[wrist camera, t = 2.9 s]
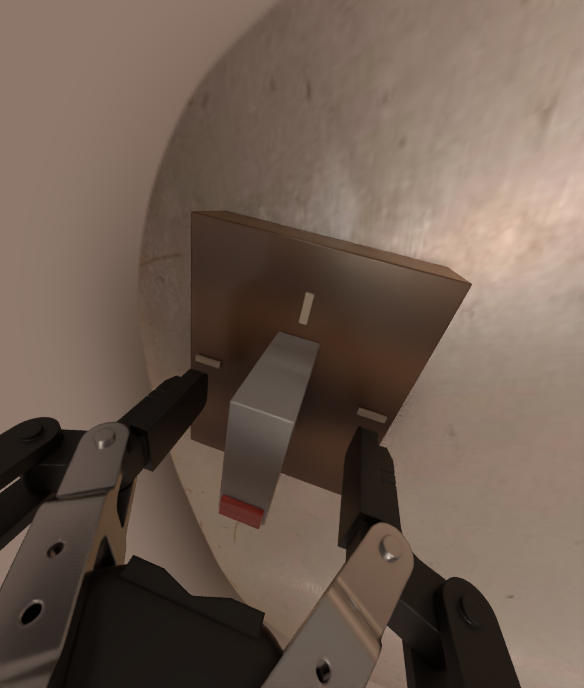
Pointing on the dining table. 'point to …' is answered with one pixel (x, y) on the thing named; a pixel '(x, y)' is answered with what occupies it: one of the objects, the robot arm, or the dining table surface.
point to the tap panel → (312, 329)
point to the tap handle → (264, 427)
